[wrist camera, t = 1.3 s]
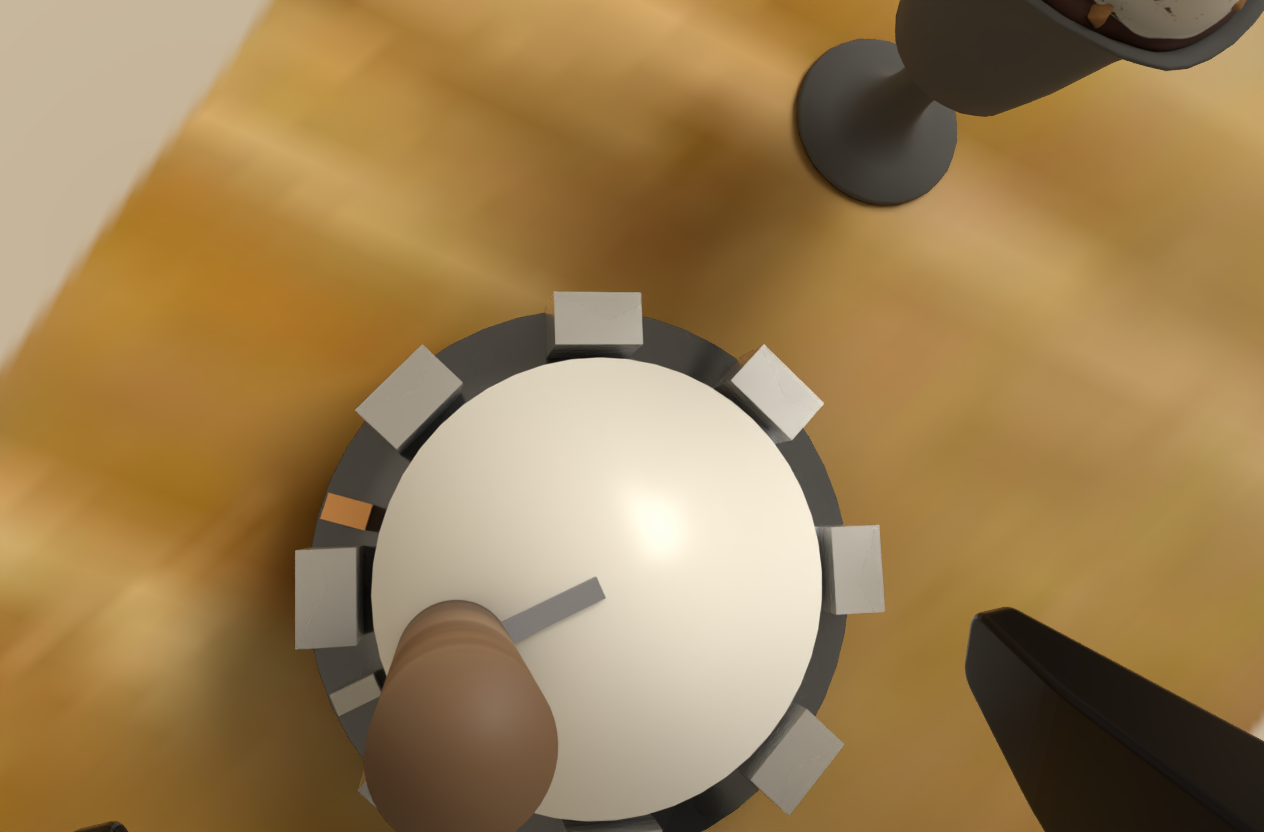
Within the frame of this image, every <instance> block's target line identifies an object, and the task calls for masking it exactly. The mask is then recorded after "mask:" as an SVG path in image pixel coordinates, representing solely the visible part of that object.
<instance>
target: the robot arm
mask: <svg viewBox="0 0 1264 832" xmlns="http://www.w3.org/2000/svg"><path fill="white" fill-rule="evenodd" d="M965 673H966V678H967V681H968V684H969V687H970V689H971V691H972V693H973V695H974V697H975V699H976V701H977V703H978V705H979V707H980V709H981V711H982V713H983V715H984V717H985V719H986V721H987V723H988V725H989V727H990V729H991V731H992V733H993V735H994V737H995V739H996V741H997V743H998V745H999V747H1000V749H1001V751H1002V753H1003V755H1004V757H1005V759H1006V761H1007V763H1008V765H1009V767H1010V769H1011V771H1012V773H1013V775H1014V777H1015V779H1016V781H1017V783H1018V785H1019V787H1020V789H1021V791H1022V793H1023V794H1024V796H1025V798H1026V800H1027V802H1028V804H1029V806H1030V807H1031V809H1032V811H1033V813H1034V814H1035V816H1036V818H1037V819H1038V821H1039V823H1040V824H1041V826H1042V828H1043V829H1044V831H1045V832H1264V741H1262V740H1261V739H1259V738H1257V737H1255V736H1253V735H1251V734H1249V733H1248V732H1246V731H1244V730H1242V729H1240V728H1238V727H1236V726H1234V725H1233V724H1231V723H1229V722H1227V721H1225V720H1223V719H1221V718H1219V717H1217V716H1216V715H1214V714H1212V713H1210V712H1208V711H1206V710H1204V709H1202V708H1201V707H1199V706H1197V705H1195V704H1193V703H1191V702H1189V701H1187V700H1186V699H1184V698H1182V697H1180V696H1178V695H1176V694H1174V693H1172V692H1171V691H1169V690H1167V689H1165V688H1163V687H1161V686H1159V685H1157V684H1156V683H1154V682H1152V681H1150V680H1148V679H1146V678H1144V677H1142V676H1141V675H1139V674H1137V673H1135V672H1133V671H1131V670H1129V669H1127V668H1126V667H1124V666H1122V665H1120V664H1118V663H1116V662H1114V661H1112V660H1111V659H1109V658H1107V657H1105V656H1103V655H1101V654H1099V653H1097V652H1096V651H1094V650H1092V649H1090V648H1088V647H1086V646H1084V645H1082V644H1081V643H1079V642H1077V641H1075V640H1073V639H1071V638H1069V637H1067V636H1066V635H1064V634H1062V633H1060V632H1058V631H1056V630H1054V629H1052V628H1051V627H1049V626H1047V625H1045V624H1043V623H1041V622H1039V621H1037V620H1036V619H1034V618H1032V617H1030V616H1028V615H1026V614H1024V613H1022V612H1021V611H1019V610H1016V609H1014V608H1011V607H1001V608H997V609H993V610H989V611H984V612H980V613H978V614H976V615H975V616H974V618H973V619H972V621H971V626H970V633H969V639H968V646H967V653H966V660H965ZM74 832H128V831H127V829H126V828H125V827H124V825H123V824H121V823H119V822H117V821H110V822H106V823H102V824H98V825H93V826H89V827H85V828H81V829H78V830H76V831H74Z"/></svg>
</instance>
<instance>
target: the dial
mask: <svg viewBox="0 0 1264 832" xmlns="http://www.w3.org/2000/svg"><path fill="white" fill-rule="evenodd" d="M371 599H372V612H373V626H374V632H375V636H376V641H377V646H378V650H379V655H380V659H381V662H382V665H383V667H384V670H385V673H386V676H387V677H386V680H385V683H384V686H383V689H382V692H381V694H380V697H379V700H378V703H377V706H376V709H375V712H374V715H373V717H372V720H371V723H370V726H369V729H368V733H367V737H366V742H365V747H364V772H365V778H366V783H367V787H368V790H369V793H370V795H371V798H372V800H373V802H374V804H375V806H376V808H377V810H378V811H379V813H380V814H381V815H382V817H383V818H384V819H385V821H386V822H387V823H388V824H389V825H390V826H391V827H392V828H393V829H394V830H395V831H397V832H515V831H516V830H517V829H518V828H520V827H521V826H522V825H523V824H524V823H525V822H526V821H527V820H528V819H529V818H530V817H531V816H532V815H533V814H534V813H536V814H540V815H544V816H548V817H552V818H558V819H568V820H578V821H608V820H620V819H626V818H631V817H637V816H643V815H647V814H650V813H653V812H656V811H660V810H663V809H666V808H669V807H672V806H675V805H677V804H679V803H681V802H683V801H685V800H688V799H690V798H692V797H694V796H696V795H698V794H700V793H702V792H704V791H705V790H707V789H708V788H710V787H711V786H713V785H714V784H716V783H718V782H719V781H721V780H722V779H724V778H725V777H727V776H728V775H729V774H730V773H731V772H733V771H734V770H735V769H736V768H737V767H739V766H740V765H741V764H742V763H743V762H744V761H746V760H747V759H748V758H749V757H750V756H751V755H752V754H753V753H754V752H755V751H756V749H757V748H758V747H759V746H760V745H761V744H762V743H763V742H764V741H765V740H766V739H767V737H768V736H769V735H770V734H771V732H772V731H773V730H774V728H775V727H776V725H777V724H778V722H779V721H780V720H781V718H782V717H783V715H784V714H785V713H786V711H787V709H788V707H789V706H790V704H791V702H792V700H793V698H794V696H795V694H796V692H797V691H798V689H799V687H800V685H801V682H802V680H803V677H804V674H805V672H806V669H807V667H808V664H809V661H810V659H811V656H812V652H813V648H814V644H815V640H816V636H817V632H818V626H819V618H820V610H821V602H822V569H821V561H820V552H819V544H818V539H817V535H816V531H815V527H814V523H813V519H812V515H811V512H810V510H809V507H808V504H807V502H806V499H805V497H804V494H803V491H802V489H801V487H800V485H799V483H798V481H797V479H796V477H795V475H794V473H793V472H792V470H791V468H790V466H789V464H788V462H787V461H786V460H785V458H784V457H783V455H782V454H781V452H780V451H779V450H778V448H777V447H776V445H775V444H774V442H773V441H772V440H771V439H770V438H769V436H768V435H767V434H766V433H765V432H764V431H763V430H762V429H761V428H760V427H759V425H758V424H757V423H756V422H755V421H754V420H753V419H752V418H751V417H750V416H748V415H747V414H746V413H745V412H744V411H743V410H741V409H740V408H739V407H738V406H737V405H736V404H734V403H733V402H732V401H731V400H729V399H728V398H726V397H725V396H723V395H722V394H720V393H718V392H717V391H715V390H714V389H712V388H711V387H709V386H708V385H706V384H703V383H701V382H699V381H697V380H695V379H693V378H691V377H689V376H687V375H685V374H683V373H680V372H677V371H674V370H671V369H668V368H665V367H662V366H659V365H655V364H650V363H645V362H640V361H635V360H630V359H617V358H601V357H600V358H585V359H571V360H566V361H561V362H556V363H551V364H546V365H542V366H539V367H536V368H533V369H530V370H528V371H525V372H522V373H519V374H516V375H514V376H512V377H510V378H508V379H506V380H504V381H502V382H500V383H498V384H496V385H494V386H492V387H490V388H488V389H486V390H485V391H483V392H482V393H480V394H479V395H477V396H476V397H474V398H473V399H471V400H470V401H468V402H467V403H465V404H464V405H463V406H462V407H460V408H459V409H458V410H457V411H456V412H455V413H454V414H453V415H451V416H450V417H449V418H448V419H447V420H446V421H445V422H443V423H442V424H441V425H440V426H439V427H438V429H437V430H436V431H435V432H434V433H433V434H432V435H431V437H430V438H429V439H428V440H427V441H426V442H425V443H424V445H423V446H422V447H421V448H420V449H419V451H418V452H417V454H416V456H415V457H414V459H413V460H412V462H411V463H410V465H409V466H408V468H407V469H406V471H405V472H404V474H403V475H402V477H401V479H400V482H399V484H398V486H397V488H396V490H395V492H394V494H393V496H392V498H391V500H390V502H389V505H388V508H387V511H386V514H385V517H384V520H383V523H382V526H381V529H380V532H379V536H378V541H377V546H376V551H375V557H374V562H373V574H372V591H371Z"/></svg>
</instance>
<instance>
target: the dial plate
mask: <svg viewBox="0 0 1264 832" xmlns="http://www.w3.org/2000/svg"><path fill="white" fill-rule="evenodd" d="M600 357H601V358H617V359H630V360H635V361H640V362H645V363H650V364H655V365H659V366H662V367H665V368H668V369H671V370H674V371H677V372H680V373H683V374H685V375H687V376H689V377H691V378H693V379H695V380H697V381H699V382H701V383H703V384H706V385H708V386H709V387H711V388H712V389H714V390H715V391H717V392H718V393H720V394H722V395H723V396H725V397H726V398H728V399H729V400H731V401H732V402H733V403H734V404H736V405H737V406H738V407H739V408H740V409H741V410H743V411H744V412H745V413H746V414H747V415H748V416H750V417H751V418H752V419H753V420H754V421H755V422H756V423H757V424H758V425H759V427H760V428H761V429H762V430H763V431H764V432H765V433H766V434H767V435H768V436H769V438H770V439H771V440H772V441H773V442H774V444H775V445H776V447H777V448H778V450H779V451H780V452H781V454H782V455H783V457H784V458H785V460H786V461H787V462H788V464H789V466H790V468H791V470H792V472H793V473H794V475H795V477H796V479H797V481H798V483H799V485H800V487H801V489H802V491H803V494H804V497H805V499H806V502H807V504H808V507H809V510H810V512H811V515H812V519H813V523H814V527H815V531H816V535H817V539H818V544H819V552H820V561H821V569H822V602H821V610H820V618H819V626H818V632H817V636H816V640H815V644H814V648H813V652H812V656H811V659H810V661H809V664H808V667H807V669H806V672H805V674H804V677H803V680H802V682H801V685H800V687H799V689H798V691H797V692H796V694H795V696H794V698H793V700H792V702H791V704H790V706H789V707H788V709H787V711H786V713H785V714H784V715H783V717H782V718H781V720H780V721H779V722H778V724H777V725H776V727H775V728H774V730H773V731H772V732H771V734H770V735H769V736H768V737H767V739H766V740H765V741H764V742H763V743H762V744H761V745H760V746H759V747H758V748H757V749H756V751H755V752H754V753H753V754H752V755H751V756H750V757H749V758H748V759H747V760H746V761H744V762H743V763H742V764H741V765H740V766H739V767H737V768H736V769H735V770H734V771H733V772H731V773H730V774H729V775H728V776H727V777H725V778H724V779H722V780H721V781H719V782H718V783H716V784H714V785H713V786H711V787H710V788H708V789H707V790H705V791H704V792H702V793H700V794H698V795H696V796H694V797H692V798H690V799H688V800H685V801H683V802H681V803H679V804H677V805H675V806H672V807H669V808H666V809H663V810H660V811H656V812H653V813H650V814H647V815H643V816H637V817H631V818H626V819H620V820H608V821H578V820H568V819H558V818H552V817H548V816H544V815H540V814H536V813H534V814H533V815H532V816H531V817H530V818H529V819H528V820H527V821H526V822H525V823H524V824H523V825H522V826H521V827H520V828H518V829H517V830H516V831H515V832H701V831H704V830H706V829H707V828H709V827H710V826H712V825H713V824H715V823H716V822H718V821H720V820H721V819H723V818H724V817H726V816H727V815H729V814H730V813H732V812H733V811H735V810H736V809H737V808H739V807H740V806H741V805H742V804H743V803H744V802H746V801H747V800H748V799H749V798H750V797H751V796H753V795H754V794H755V793H756V792H757V791H758V790H760V791H761V792H762V793H763V794H764V795H765V796H766V797H768V798H769V799H770V800H771V801H772V802H773V803H775V804H776V805H777V806H778V807H779V808H780V809H782V810H783V811H784V812H785V813H786V814H787V815H790V814H791V813H792V811H793V810H794V809H795V807H796V806H797V805H798V804H799V802H800V801H801V800H802V798H803V797H804V796H805V795H806V793H807V792H808V791H809V789H810V788H811V787H812V786H813V784H814V783H815V782H816V780H817V779H818V778H819V777H820V775H821V774H822V773H823V771H824V770H825V769H826V768H827V766H828V765H829V764H830V762H831V761H832V760H833V759H834V757H835V756H836V755H837V753H838V752H839V751H840V750H841V748H842V747H843V746H844V744H843V743H842V742H841V741H840V740H839V739H838V738H837V737H836V736H835V735H834V734H833V733H832V732H831V731H830V730H829V729H828V728H827V727H826V726H824V725H823V724H822V723H821V722H820V721H819V720H818V719H817V718H816V717H815V715H816V714H817V712H818V710H819V708H820V706H821V704H822V702H823V700H824V698H825V695H826V693H827V690H828V687H829V685H830V682H831V679H832V677H833V674H834V672H835V669H836V666H837V662H838V658H839V654H840V650H841V646H842V642H843V638H844V633H845V626H846V618H847V614H856V613H872V612H885V607H884V592H883V576H882V561H881V546H880V530H879V525H843V522H842V518H841V514H840V510H839V506H838V502H837V498H836V495H835V493H834V490H833V487H832V485H831V482H830V479H829V477H828V474H827V472H826V469H825V466H824V464H823V463H822V461H821V459H820V457H819V455H818V453H817V451H816V449H815V447H814V445H813V444H812V442H811V440H810V438H809V436H808V435H807V433H806V432H805V430H804V429H803V427H804V426H805V425H806V424H807V423H808V421H809V420H810V419H811V418H812V417H813V416H814V414H815V413H816V412H817V411H818V410H819V409H820V408H821V406H822V405H823V404H824V403H823V402H822V401H821V400H820V399H819V398H818V397H817V396H816V395H815V394H814V393H813V392H812V391H811V390H810V389H809V388H808V387H807V386H806V385H805V384H804V383H803V382H802V381H801V380H800V379H799V378H798V377H797V376H796V375H795V374H794V373H793V372H792V371H791V370H790V369H789V368H788V367H787V366H786V365H785V364H784V363H783V362H781V361H780V360H779V359H778V358H777V357H776V356H775V355H774V354H773V353H772V352H771V351H770V350H769V349H768V348H767V347H766V346H765V345H764V344H763V345H761V346H759V347H758V348H756V349H754V350H752V351H750V352H748V353H747V354H745V355H743V356H741V357H739V358H738V360H737V359H736V358H734V357H733V356H731V355H730V354H728V353H727V352H725V351H724V350H722V349H721V348H719V347H718V346H716V345H714V344H712V343H710V342H708V341H706V340H704V339H702V338H700V337H698V336H696V335H694V334H692V333H690V332H688V331H686V330H684V329H681V328H678V327H675V326H672V325H669V324H666V323H664V322H661V321H658V320H655V319H651V318H646V317H642V304H641V293H640V292H555V291H554V292H553V294H552V296H551V298H550V300H549V302H548V304H547V306H546V308H545V313H541V314H536V315H531V316H525V317H520V318H516V319H513V320H510V321H507V322H504V323H501V324H498V325H495V326H491V327H488V328H485V329H483V330H481V331H479V332H477V333H474V334H472V335H470V336H468V337H466V338H464V339H462V340H460V341H458V342H456V343H454V344H452V345H450V346H448V347H447V348H445V349H444V350H442V351H441V352H439V353H438V354H436V355H435V356H434V355H433V354H432V353H431V352H430V351H429V350H428V349H427V348H426V347H425V346H424V345H423V344H422V345H421V346H420V347H419V348H418V349H417V350H416V351H415V352H414V353H413V354H412V355H411V356H410V357H409V358H408V359H407V360H406V361H405V362H404V363H403V364H402V365H400V366H399V367H398V368H397V369H396V370H395V371H394V372H393V373H392V374H391V375H390V376H389V377H388V378H387V379H386V380H385V381H384V382H383V383H382V384H381V385H380V386H379V387H378V388H377V389H376V390H375V391H374V392H373V393H372V394H371V395H370V396H369V397H368V398H367V399H366V400H365V401H364V402H363V403H362V404H361V405H359V406H358V407H357V408H356V409H355V411H356V412H357V413H358V415H359V416H360V417H361V418H362V420H364V421H365V422H364V423H363V425H362V426H361V428H360V429H359V431H358V432H357V434H356V435H355V437H354V438H353V440H352V441H351V442H350V444H349V445H348V447H347V449H346V451H345V453H344V455H343V457H342V459H341V461H340V463H339V465H338V467H337V469H336V471H335V473H334V475H333V477H332V479H331V481H330V483H329V486H328V489H327V492H326V495H325V498H324V501H323V504H322V506H321V509H320V512H319V515H318V519H317V524H316V529H315V533H314V538H313V543H312V548H304V549H300V550H295V650H297V649H313V648H314V651H315V656H316V661H317V665H318V670H319V672H320V675H321V678H322V681H323V684H324V686H325V689H326V692H327V695H328V698H329V700H330V703H331V706H332V708H333V709H334V711H335V713H336V715H337V717H338V719H339V721H340V723H341V725H342V727H343V728H344V730H345V732H346V734H347V736H348V738H349V740H350V741H351V742H352V744H353V745H354V747H355V748H356V749H357V751H358V752H359V753H360V755H361V756H362V758H363V759H364V747H365V742H366V737H367V733H368V729H369V726H370V723H371V720H372V717H373V715H374V712H375V709H376V706H377V703H378V700H379V697H380V694H381V692H382V689H383V686H384V683H385V680H386V677H387V676H386V673H385V670H384V667H383V665H382V662H381V659H380V655H379V650H378V646H377V641H376V636H375V632H374V626H373V612H372V599H371V591H372V574H373V562H374V557H375V551H376V546H377V541H378V536H379V532H380V529H381V526H382V523H383V520H384V517H385V514H386V511H387V508H388V505H389V502H390V500H391V498H392V496H393V494H394V492H395V490H396V488H397V486H398V484H399V482H400V479H401V477H402V475H403V474H404V472H405V471H406V469H407V468H408V466H409V465H410V463H411V462H412V460H413V459H414V457H415V456H416V454H417V452H418V451H419V449H420V448H421V447H422V446H423V445H424V443H425V442H426V441H427V440H428V439H429V438H430V437H431V435H432V434H433V433H434V432H435V431H436V430H437V429H438V427H439V426H440V425H441V424H442V423H443V422H445V421H446V420H447V419H448V418H449V417H450V416H451V415H453V414H454V413H455V412H456V411H457V410H458V409H459V408H460V407H462V406H463V405H464V404H465V403H467V402H468V401H470V400H471V399H473V398H474V397H476V396H477V395H479V394H480V393H482V392H483V391H485V390H486V389H488V388H490V387H492V386H494V385H496V384H498V383H500V382H502V381H504V380H506V379H508V378H510V377H512V376H514V375H516V374H519V373H522V372H525V371H528V370H530V369H533V368H536V367H539V366H542V365H546V364H551V363H556V362H561V361H566V360H571V359H585V358H600ZM358 792H359V793H360V794H361V795H362V796H364V797H365V798H366V799H367V800H368V801H369V802H370V803H371V804H373V805H374V806H375V804H374V802H373V800H372V798H371V795H370V793H369V790H368V787H367V783H366V778H365V772H364V771H363V774H362V778H361V781H360V784H359V787H358ZM375 807H376V806H375Z"/></svg>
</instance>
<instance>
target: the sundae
mask: <svg viewBox="0 0 1264 832" xmlns="http://www.w3.org/2000/svg"><path fill="white" fill-rule="evenodd" d="M1263 11H1264V0H900V2H899V6H898V10H897V14H896V25H895V38H896V44H894V43H891V42H889V41H882V40H876V39H856V40H853V41H849V42H846V43H843V44H840V45H838V46H836V47H833V48H831V49H829V50H828V51H827V52H826V53H825V54H823V55H822V56H821V57H820V58H819V59H818V60H817V61H816V62H815V63H814V64H813V66H812V67H811V68H810V69H809V70H808V72H807V75H806V77H805V79H804V81H803V84H802V86H801V90H800V93H799V97H798V113H797V117H798V125H799V133H800V136H801V139H802V141H803V144H804V146H805V149H806V151H807V153H808V155H809V157H810V159H811V161H812V163H813V164H814V166H815V167H816V168H817V169H818V170H819V171H820V172H821V174H822V175H823V176H824V177H825V178H826V179H827V180H828V181H829V182H831V183H832V184H833V185H834V186H835V187H836V188H837V189H839V190H840V191H842V192H844V193H846V194H848V195H850V196H852V197H854V198H857V199H859V200H862V201H864V202H867V203H873V204H883V205H887V204H901V203H904V202H908V201H911V200H914V199H916V198H918V197H920V196H922V195H924V194H926V193H928V192H929V191H930V190H931V189H932V188H933V187H934V186H935V185H936V184H937V183H938V182H939V181H940V179H941V178H942V177H943V176H944V174H945V173H946V172H947V170H948V168H949V165H950V163H951V160H952V158H953V154H954V150H955V147H956V143H957V122H956V113H955V111H957V112H959V113H963V114H968V115H974V116H983V117H986V116H994V115H997V114H999V113H1002V112H1005V111H1008V110H1010V109H1013V108H1016V107H1018V106H1021V105H1024V104H1027V103H1029V102H1032V101H1034V100H1037V99H1039V98H1042V97H1044V96H1047V95H1049V94H1052V93H1054V92H1056V91H1058V90H1060V89H1062V88H1064V87H1066V86H1068V85H1070V84H1072V83H1074V82H1076V81H1078V80H1080V79H1082V78H1084V77H1086V76H1088V75H1090V74H1092V73H1094V72H1096V71H1098V70H1100V69H1101V68H1103V67H1105V66H1107V65H1109V64H1111V63H1113V62H1116V61H1119V60H1122V59H1123V60H1127V61H1130V62H1133V63H1136V64H1140V65H1143V66H1147V67H1151V68H1155V69H1160V70H1164V71H1170V70H1181V69H1188V68H1190V67H1193V66H1195V65H1198V64H1200V63H1203V62H1205V61H1208V60H1210V59H1212V58H1213V57H1215V56H1216V55H1218V54H1219V53H1221V52H1222V51H1224V50H1225V49H1227V48H1228V47H1230V46H1231V45H1233V44H1234V43H1235V42H1236V41H1237V40H1238V39H1239V38H1240V37H1241V36H1242V35H1243V34H1244V33H1245V32H1246V31H1247V30H1248V29H1249V28H1250V27H1251V26H1252V25H1253V24H1254V23H1255V22H1256V20H1257V19H1258V18H1259V16H1260V15H1261V14H1262V12H1263Z"/></svg>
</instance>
